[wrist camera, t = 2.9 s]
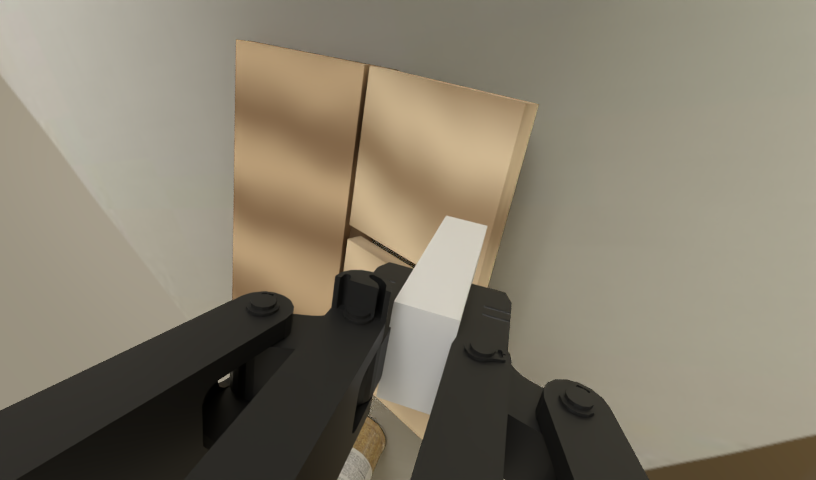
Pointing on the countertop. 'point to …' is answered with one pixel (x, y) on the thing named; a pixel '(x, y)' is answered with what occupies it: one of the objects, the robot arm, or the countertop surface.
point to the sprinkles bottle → (364, 453)
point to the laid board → (294, 171)
